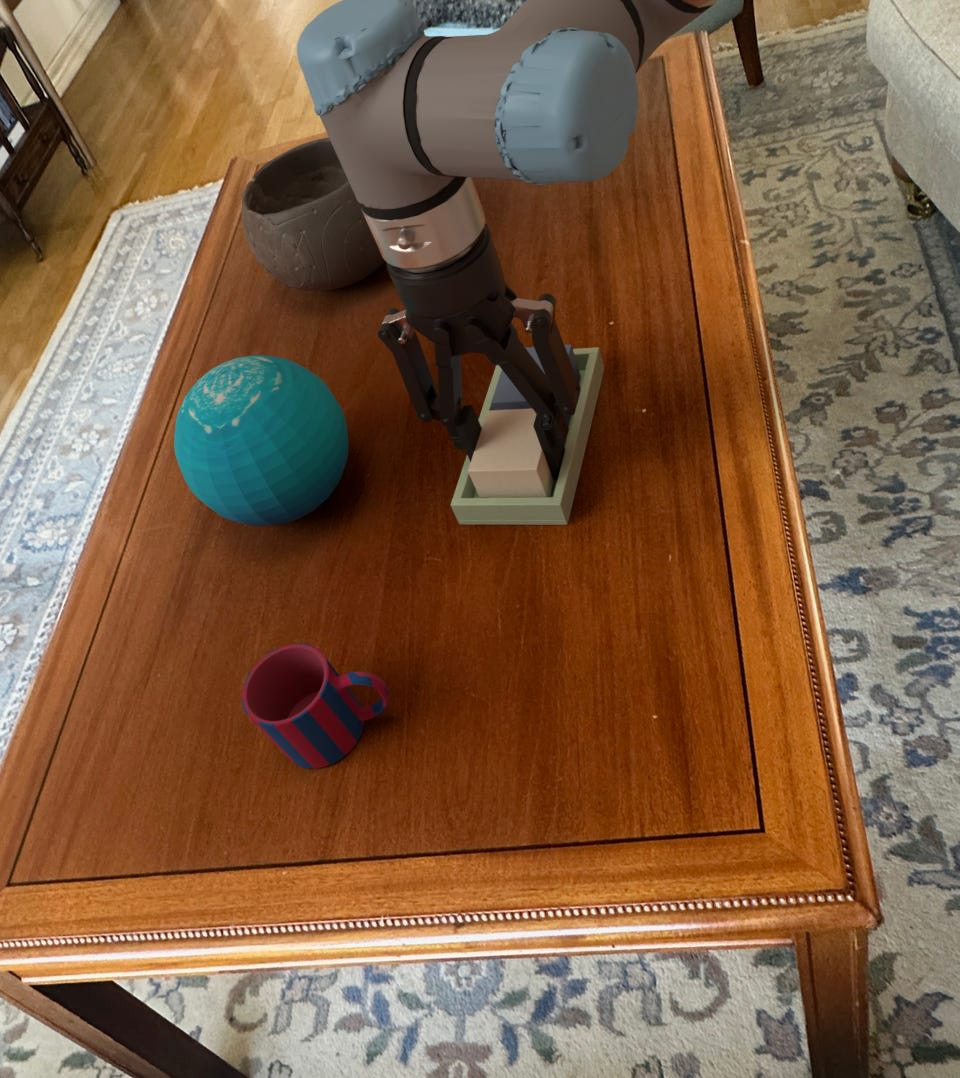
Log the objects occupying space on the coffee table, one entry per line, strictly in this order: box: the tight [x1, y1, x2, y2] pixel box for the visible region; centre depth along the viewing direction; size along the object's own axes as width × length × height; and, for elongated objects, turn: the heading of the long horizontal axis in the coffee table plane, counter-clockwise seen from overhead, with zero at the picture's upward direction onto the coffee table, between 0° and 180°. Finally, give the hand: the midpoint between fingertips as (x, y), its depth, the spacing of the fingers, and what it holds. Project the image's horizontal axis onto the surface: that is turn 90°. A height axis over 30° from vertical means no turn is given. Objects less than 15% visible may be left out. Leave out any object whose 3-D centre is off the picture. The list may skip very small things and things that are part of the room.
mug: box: [241, 642, 391, 770], centre depth 71 cm, size 7×10×7 cm
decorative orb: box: [173, 354, 349, 527], centre depth 86 cm, size 15×15×15 cm
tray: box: [450, 346, 605, 526], centre depth 86 cm, size 19×10×3 cm, turn 166°
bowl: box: [241, 137, 386, 292], centre depth 110 cm, size 18×18×13 cm
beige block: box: [468, 409, 554, 498], centre depth 83 cm, size 7×6×4 cm
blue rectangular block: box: [491, 344, 581, 426], centre depth 87 cm, size 7×6×4 cm
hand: (522, 468), depth 84 cm, fingers closed on beige block, 6 cm apart
